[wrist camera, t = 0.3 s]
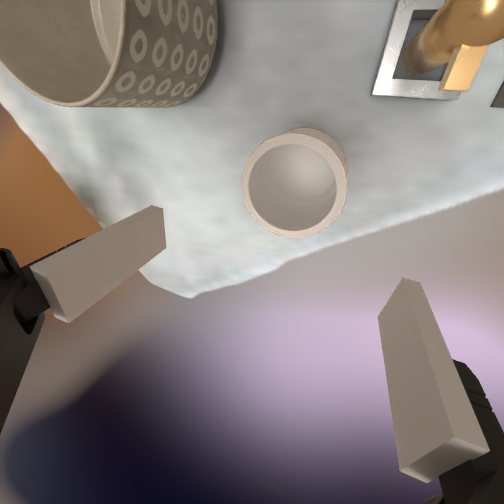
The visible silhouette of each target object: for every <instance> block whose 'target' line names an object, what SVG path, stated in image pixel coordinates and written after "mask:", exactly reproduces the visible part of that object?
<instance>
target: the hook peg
mask: <svg viewBox="0 0 504 504" xmlns="http://www.w3.org/2000/svg"><path fill="white" fill-rule="evenodd" d="M502 38H504V0H447V1H446V2H445V3H444V4H443V6H442V7H441V8H440V9H439V10H438V11H437V12H436V13H435V14H434V15H433V16H432V17H431V19H430V20H429V21H428V22H427V23H426V24H425V25H424V26H423V27H422V28H421V29H420V30H419V31H418V33H417V34H416V35H415V36H414V37H413V38H412V39H411V40H410V42H409V43H408V44H407V46H406V48H405V51H404V54H403V66H404V68H405V70H406V71H407V72H408V73H410V74H412V75H422V74H425V73H427V72H429V71H431V70H434V69H436V68H438V67H440V66H443V65H445V64H447V63H448V65H447V68H446V70H445V73H444V75H443V78H442V80H441V82H440V85H439V87H438V91H455V92H461V91H468V89H469V87H470V85H471V83H472V80H473V78H474V76H475V74H476V72H477V70H478V67H479V65H480V63H481V61H482V59H483V57H484V55H485V52H486V50H487V48H488V46H489V44H492V43H494V42H496V41H498V40H501V39H502Z"/></svg>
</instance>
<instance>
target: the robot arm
mask: <svg viewBox="0 0 504 504" xmlns="http://www.w3.org/2000/svg"><path fill="white" fill-rule="evenodd" d="M165 248H166V239H165V227H164V216H163V208H159V207H156V206H152V205H151V206H149V207H147V208H145V209H143V210H141V211H139V212H137V213H135V214H133V215H131V216H129V217H127V218H125V219H123V220H121V221H119V222H117V223H115V224H113V225H111V226H109V227H107V228H105V229H103V230H101V231H99V232H97V233H95V234H93V235H91V236H89V237H87V238H83V239H80V240H77V241H75V242H72V243H70V244H68V245H67V246H66V247H62V248H60V249H58V251H54V252H52V253H50V254H48V255H46V256H44V257H42V258H40V259H38V260H36V261H34V262H32V263H30V264H28V265H26V266H24V267H21V268H20V267H19V265H18V263H17V261H16V259H15V257H14V256H13V254H12V252H11V251H10V250H8V249H5V248H0V434H1V431H2V428H3V426H4V423H5V421H6V418H7V415H8V413H9V410H10V407H11V405H12V403H13V400H14V397H15V395H16V392H17V390H18V387H19V384H20V382H21V379H22V376H23V374H24V372H25V369H26V366H27V364H28V361H29V359H30V356H31V354H32V351H33V348H34V346H35V343H36V341H37V338H38V335H39V333H40V330H41V328H42V325H43V323H44V320H45V313H44V311H45V310H47V309H48V308H51V310H52V312H53V314H54V316H55V317H56V318H58V319H61V320H63V321H65V322H67V323H70V322H71V321H72V320H74V319H75V318H76V317H78V316H79V315H80V314H81V313H83V312H84V311H85V310H87V309H88V308H89V307H90V306H92V305H93V304H94V303H96V302H97V301H98V300H100V299H101V298H102V297H103V296H105V295H106V294H107V293H109V292H110V291H111V290H112V289H114V288H115V287H116V286H118V285H119V284H120V283H121V282H123V281H124V280H125V279H127V278H128V277H129V276H130V275H132V274H133V273H134V272H136V271H137V270H138V269H140V268H141V267H142V266H143V265H145V264H146V263H147V262H149V261H150V260H151V259H152V258H154V257H155V256H156V255H158V254H159V253H160V252H161V251H163V250H164V249H165ZM378 322H379V329H380V336H381V343H382V350H383V357H384V363H385V370H386V377H387V384H388V391H389V398H390V405H391V411H392V419H393V426H394V432H395V440H396V446H397V453H398V460H399V467H400V471H401V472H403V473H406V474H408V475H410V476H412V477H415V478H417V479H419V480H421V481H424V482H426V483H428V482H430V481H432V480H434V479H436V478H438V477H439V480H440V484H441V488H442V492H443V493H440V494H438V495H436V496H434V497H432V498H429V499H427V500H426V501H424V502H423V504H504V432H503V430H502V428H501V426H500V424H499V422H498V420H497V418H496V416H495V414H494V412H492V407H491V405H490V403H489V401H488V399H487V398H485V396H486V395H485V393H484V391H483V388H482V386H481V384H480V382H479V380H478V379H477V378H476V376H475V375H474V374H473V373H472V371H471V370H470V369H469V368H468V367H467V365H466V364H465V363H462V362H459V361H456V360H453V359H452V358H451V355H450V353H449V350H448V348H447V346H446V343H445V341H444V339H443V336H442V334H441V331H440V329H439V326H438V324H437V322H436V320H435V317H434V315H433V312H432V310H431V307H430V305H429V303H428V300H427V297H426V295H425V293H424V290H423V288H422V285H421V283H419V282H416V281H413V280H409V279H406V278H402V280H401V281H400V283H399V284H398V286H397V287H396V289H395V291H394V292H393V294H392V296H391V297H390V298H389V300H388V302H387V303H386V305H385V306H384V308H383V309H382V311H381V313H380V314H379V316H378Z"/></svg>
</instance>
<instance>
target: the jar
mask: <svg viewBox="0 0 504 504" xmlns="http://www.w3.org/2000/svg"><path fill="white" fill-rule="evenodd" d="M241 185H242V194H243V198H244V202H245V204H246V206H247V208H248V210H249V212H250V214H251V215H252V216H253V218H254V219H255V220H256V221H257V222H258V223H259V224H260V225H262V226H263V227H264V228H266V229H267V230H269V231H271V232H273V233H275V234H278V235H281V236H285V237H292V238H299V237H306V236H311V235H314V234H316V233H318V232H320V231H322V230H324V229H325V228H327V227H328V226H329V225H330V224H331V223H333V221H334V220H335V219H336V218H337V217H338V215H339V214H340V212H341V210H342V208H343V206H344V203H345V200H346V195H347V163H346V159H345V156H344V154H343V152H342V150H341V148H340V146H339V145H338V144H337V143H336V141H335V140H334V139H332V138H331V137H330V136H329V135H327V134H325V133H324V132H321V131H319V130H316V129H311V128H296V129H292V130H288V131H286V132H283V133H281V134H279V135H277V136H274V137H272V138H270V139H268V140H266V141H265V142H263V143H262V144H261V145H259V146H258V147H257V148H256V149H255V150H254V152H253V153H252V154H251V155H250V157H249V159H248V160H247V162H246V164H245V167H244V170H243V174H242V183H241Z"/></svg>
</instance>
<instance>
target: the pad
mask: <svg viewBox="0 0 504 504" xmlns="http://www.w3.org/2000/svg"><path fill="white" fill-rule="evenodd" d="M490 107H501V108H504V82H503V83H502V85H501V87H500V89H499V91H498V93H497V95H496V97H495V99H494V101H493V103H492V105H491V106H490Z"/></svg>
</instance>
